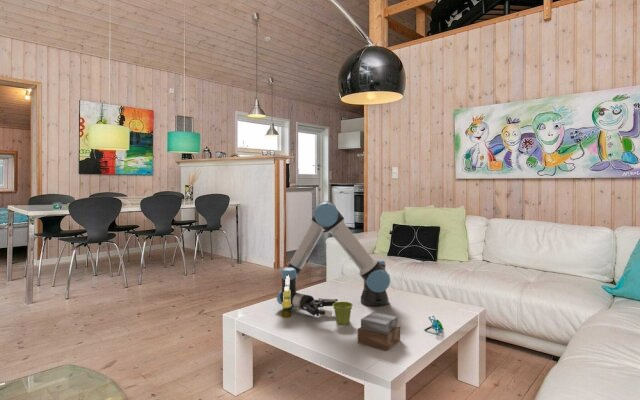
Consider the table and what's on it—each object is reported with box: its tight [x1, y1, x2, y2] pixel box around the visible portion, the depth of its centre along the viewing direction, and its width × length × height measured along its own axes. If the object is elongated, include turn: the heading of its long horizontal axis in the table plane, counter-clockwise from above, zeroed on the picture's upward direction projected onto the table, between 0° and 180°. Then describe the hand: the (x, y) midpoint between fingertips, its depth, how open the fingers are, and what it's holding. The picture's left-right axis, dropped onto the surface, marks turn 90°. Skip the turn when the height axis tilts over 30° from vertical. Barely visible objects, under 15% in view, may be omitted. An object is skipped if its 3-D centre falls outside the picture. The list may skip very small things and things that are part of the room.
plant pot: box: [332, 301, 354, 326], centre depth 187 cm, size 9×9×9 cm
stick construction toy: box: [424, 315, 444, 335], centre depth 177 cm, size 12×7×8 cm
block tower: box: [357, 311, 401, 352], centre depth 165 cm, size 13×13×10 cm
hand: (339, 310), depth 187 cm, fingers open, 13 cm apart
